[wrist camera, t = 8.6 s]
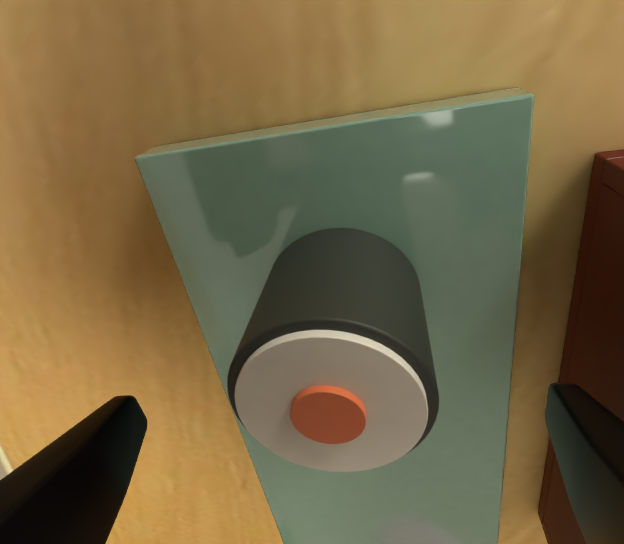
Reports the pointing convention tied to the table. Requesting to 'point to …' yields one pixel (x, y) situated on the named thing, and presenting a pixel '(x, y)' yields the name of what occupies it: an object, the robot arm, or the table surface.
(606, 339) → the sushi box
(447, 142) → the plate
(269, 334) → the cylinder
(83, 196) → the table surface
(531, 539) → the table surface
